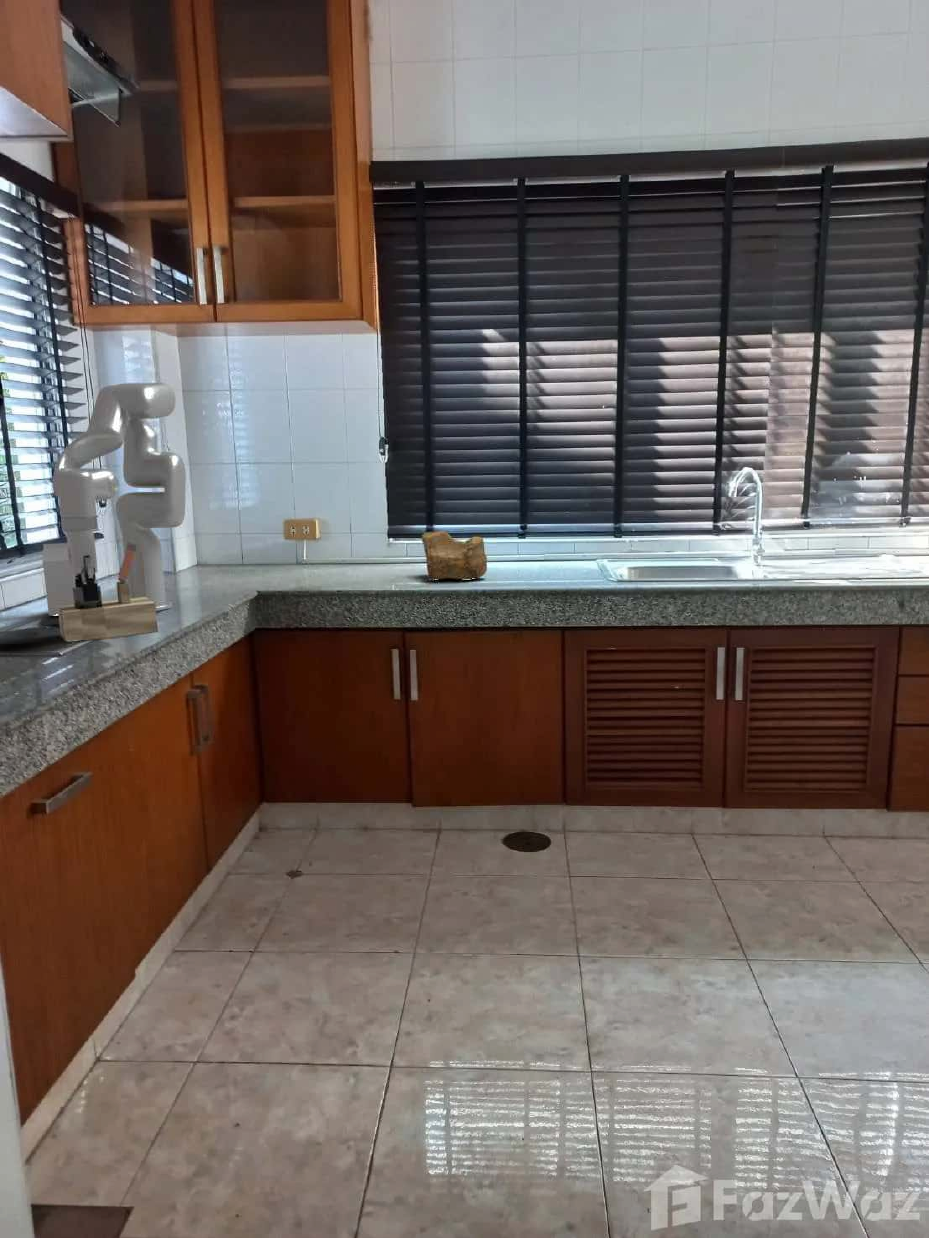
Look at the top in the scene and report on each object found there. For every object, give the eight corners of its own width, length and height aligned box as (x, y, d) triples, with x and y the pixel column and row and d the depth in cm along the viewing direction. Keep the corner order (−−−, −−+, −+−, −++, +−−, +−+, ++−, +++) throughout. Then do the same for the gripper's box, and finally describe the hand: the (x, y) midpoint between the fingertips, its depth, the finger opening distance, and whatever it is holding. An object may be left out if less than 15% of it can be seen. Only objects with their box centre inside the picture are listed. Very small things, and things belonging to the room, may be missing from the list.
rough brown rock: (403, 583, 273) (401, 537, 269) (430, 571, 287) (429, 528, 282) (465, 590, 262) (464, 543, 257) (490, 578, 275) (490, 533, 271)
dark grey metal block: (75, 632, 200) (70, 587, 198) (102, 629, 203) (97, 584, 201) (79, 637, 195) (74, 590, 193) (107, 634, 198) (102, 587, 196)
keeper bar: (127, 542, 202) (132, 543, 203) (117, 580, 202) (122, 581, 203) (132, 543, 198) (136, 545, 199) (121, 582, 199) (126, 583, 199)
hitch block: (60, 635, 200) (55, 586, 198) (148, 624, 211) (143, 577, 208) (67, 643, 192) (61, 592, 189) (157, 631, 202) (153, 583, 200)
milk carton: (78, 616, 222) (70, 544, 219) (49, 617, 221) (40, 545, 217) (82, 611, 229) (74, 541, 225) (53, 612, 227) (45, 542, 223)
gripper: (56, 523, 199) (64, 594, 202) (68, 528, 185) (76, 605, 188) (90, 521, 203) (97, 591, 206) (104, 526, 189) (112, 601, 192)
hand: (87, 597), depth 197 cm, fingers open, 9 cm apart
